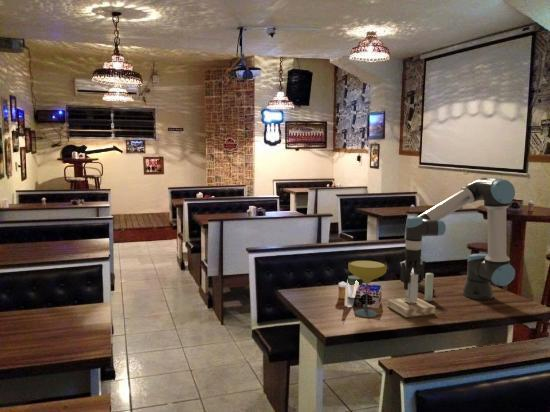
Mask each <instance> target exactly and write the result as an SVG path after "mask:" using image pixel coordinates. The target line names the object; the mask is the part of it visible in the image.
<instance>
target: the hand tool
mask: <svg viewBox="0 0 550 412" xmlns="http://www.w3.org/2000/svg"><path fill="white" fill-rule="evenodd" d="M418 291H420V292H422V293H424V294H425V285H422V284H421V283H419V289H418ZM435 292H436V291H435V289H434V288H433V296H434V295H435Z"/></svg>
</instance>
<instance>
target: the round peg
mask: <svg viewBox="0 0 550 412" xmlns="http://www.w3.org/2000/svg"><path fill="white" fill-rule="evenodd" d="M434 275H435V274H434V273H433V272H426V273H425V276H424V277H425V280H424V286H425V293H424V299H423V301H425V302H432V301H433V296H434V295H433V289H434Z"/></svg>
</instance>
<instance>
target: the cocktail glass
mask: <svg viewBox="0 0 550 412" xmlns="http://www.w3.org/2000/svg"><path fill="white" fill-rule="evenodd" d="M347 268H348V271H349V272H350V273H351V275H355V276H357V277H359V278H360V279H362V280H363V284H365V304H364V308H363V309H357V310H355V311H354V314H355V315H356V316H358V317H360V318H367V319H368V318H369V319H370V318H375V317H377V316H378V312H376V311H375V310H373V309H372V310H371V309H368V285H369V284H370V283H371V282H372V281H373V280H376V279H378V278H380V277H383V276H384V275H385V274H386V273H387V269H388V265H387V263H386V262H385V261H382V260H378V259H371V258H356V259H351V260H349V261H348V267H347Z"/></svg>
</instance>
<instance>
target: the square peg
mask: <svg viewBox="0 0 550 412" xmlns="http://www.w3.org/2000/svg"><path fill="white" fill-rule="evenodd" d="M409 284H410V293H409V297H407V296H405V295H404V298H405V301H407V302H408V303H417V298H418V296H417V290H418V274H416V273H414V272H411V274H410V278H409ZM418 291H419V290H418Z"/></svg>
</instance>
